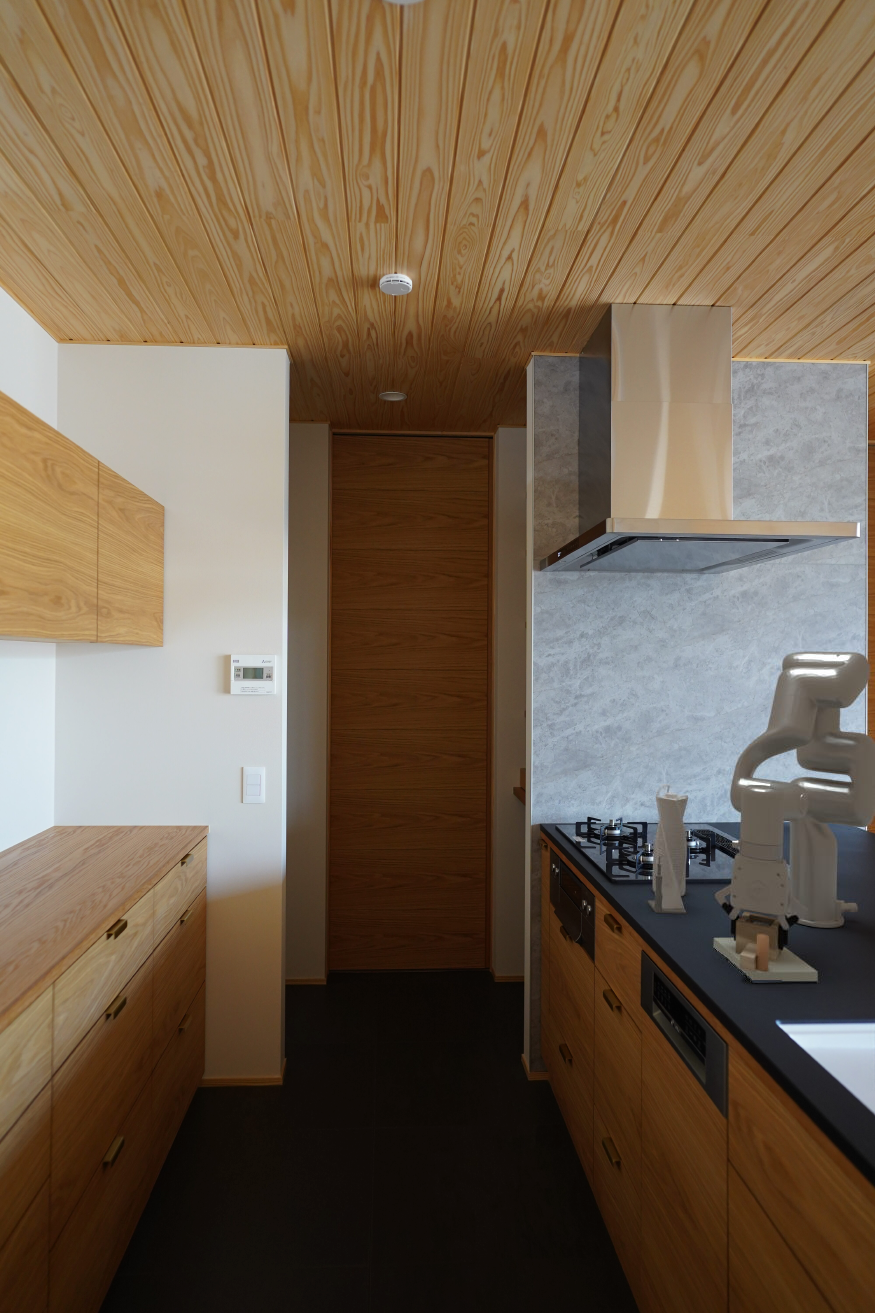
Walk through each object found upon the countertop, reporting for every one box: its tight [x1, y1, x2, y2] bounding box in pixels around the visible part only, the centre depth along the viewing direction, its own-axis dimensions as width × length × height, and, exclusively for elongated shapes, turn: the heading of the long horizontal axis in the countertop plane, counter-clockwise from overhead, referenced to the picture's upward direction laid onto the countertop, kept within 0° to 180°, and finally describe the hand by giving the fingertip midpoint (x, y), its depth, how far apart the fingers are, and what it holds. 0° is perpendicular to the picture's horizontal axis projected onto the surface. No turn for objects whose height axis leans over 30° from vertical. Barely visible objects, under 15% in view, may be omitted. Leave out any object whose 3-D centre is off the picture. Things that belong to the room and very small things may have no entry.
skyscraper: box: [647, 784, 689, 915], centre depth 171 cm, size 8×8×28 cm
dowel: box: [756, 934, 769, 972], centre depth 133 cm, size 2×2×6 cm
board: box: [713, 937, 819, 982], centre depth 140 cm, size 12×16×2 cm
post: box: [752, 920, 770, 927], centre depth 141 cm, size 3×3×6 cm
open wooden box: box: [736, 911, 782, 972], centre depth 138 cm, size 14×7×6 cm, turn 145°
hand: (758, 942), depth 141 cm, fingers closed on open wooden box, 7 cm apart
